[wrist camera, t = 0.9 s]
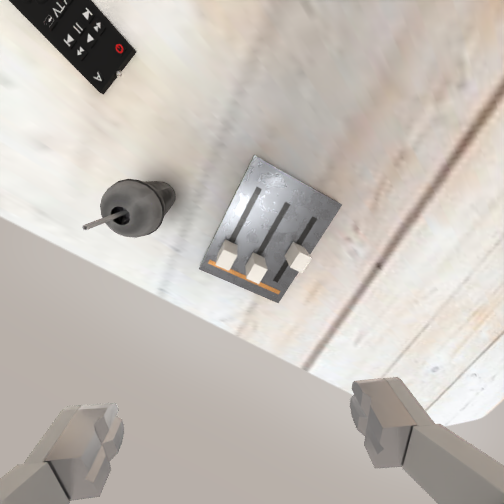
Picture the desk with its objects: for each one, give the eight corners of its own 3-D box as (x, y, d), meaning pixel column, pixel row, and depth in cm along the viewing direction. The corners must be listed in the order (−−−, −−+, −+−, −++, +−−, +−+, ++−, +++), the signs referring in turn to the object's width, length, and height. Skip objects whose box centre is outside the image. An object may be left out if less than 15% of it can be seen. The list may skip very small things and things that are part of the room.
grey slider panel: (254, 155, 39) (254, 155, 37) (337, 202, 43) (342, 204, 41) (200, 264, 46) (198, 269, 44) (276, 297, 50) (278, 303, 48)
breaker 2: (252, 252, 43) (254, 263, 39) (264, 257, 44) (267, 269, 39) (245, 265, 44) (245, 278, 40) (256, 270, 45) (258, 284, 40)
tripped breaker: (293, 241, 43) (299, 252, 38) (304, 247, 43) (312, 258, 39) (284, 255, 44) (289, 267, 39) (295, 260, 44) (302, 273, 40)
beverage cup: (186, 215, 43) (145, 260, 24) (144, 217, 42) (70, 264, 24) (180, 172, 40) (128, 185, 21) (135, 173, 40) (44, 188, 21)
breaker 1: (225, 239, 42) (223, 249, 37) (237, 244, 43) (237, 255, 38) (217, 253, 43) (215, 264, 38) (230, 258, 43) (228, 270, 39)
